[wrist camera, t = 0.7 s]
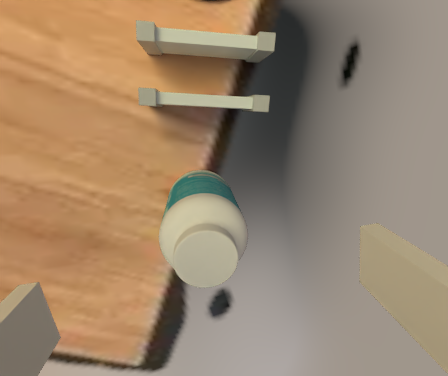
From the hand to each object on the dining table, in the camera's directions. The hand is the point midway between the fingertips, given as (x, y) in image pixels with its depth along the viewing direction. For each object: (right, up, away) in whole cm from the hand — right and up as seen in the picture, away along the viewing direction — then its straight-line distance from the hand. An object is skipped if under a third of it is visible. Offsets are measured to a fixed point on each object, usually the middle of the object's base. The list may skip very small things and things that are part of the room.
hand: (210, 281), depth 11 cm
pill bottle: (-2, +3, +21) cm, 21 cm away
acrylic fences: (-2, +15, +17) cm, 23 cm away
